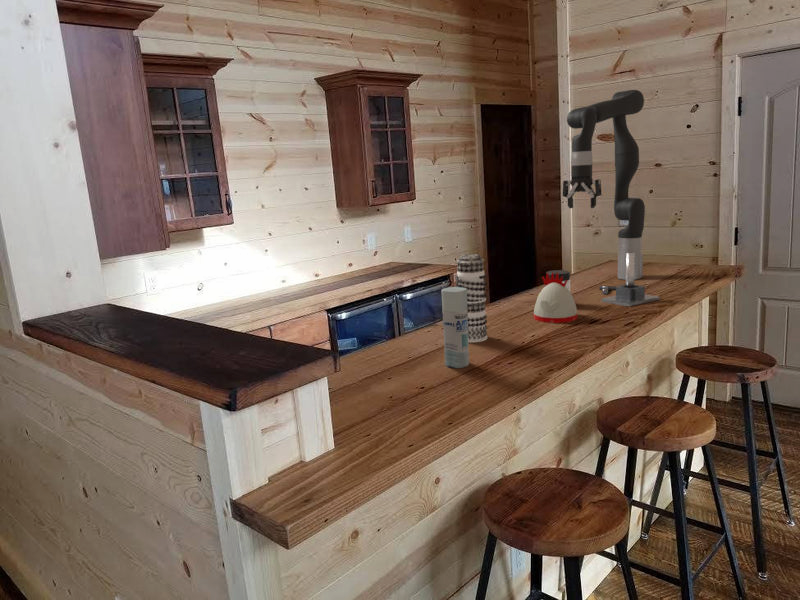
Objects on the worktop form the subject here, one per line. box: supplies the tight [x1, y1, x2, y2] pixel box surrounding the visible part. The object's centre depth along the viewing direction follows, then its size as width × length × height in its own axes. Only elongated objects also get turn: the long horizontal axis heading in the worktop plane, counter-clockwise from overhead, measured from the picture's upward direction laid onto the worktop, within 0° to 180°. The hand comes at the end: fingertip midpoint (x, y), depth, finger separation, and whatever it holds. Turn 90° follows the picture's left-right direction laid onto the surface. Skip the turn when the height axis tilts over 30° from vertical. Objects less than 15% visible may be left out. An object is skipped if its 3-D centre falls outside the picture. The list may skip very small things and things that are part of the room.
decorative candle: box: [454, 253, 488, 343], centre depth 184 cm, size 9×9×25 cm
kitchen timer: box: [533, 272, 578, 324], centre depth 203 cm, size 14×14×15 cm
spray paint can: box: [440, 286, 470, 369], centre depth 161 cm, size 6×6×20 cm
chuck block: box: [600, 283, 660, 307], centre depth 222 cm, size 16×12×5 cm
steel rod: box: [625, 252, 635, 288], centre depth 221 cm, size 3×3×16 cm
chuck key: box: [599, 285, 617, 295], centre depth 238 cm, size 10×6×2 cm, turn 155°
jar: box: [545, 269, 571, 292], centre depth 220 cm, size 9×8×12 cm
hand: (581, 208), depth 235 cm, fingers open, 8 cm apart
